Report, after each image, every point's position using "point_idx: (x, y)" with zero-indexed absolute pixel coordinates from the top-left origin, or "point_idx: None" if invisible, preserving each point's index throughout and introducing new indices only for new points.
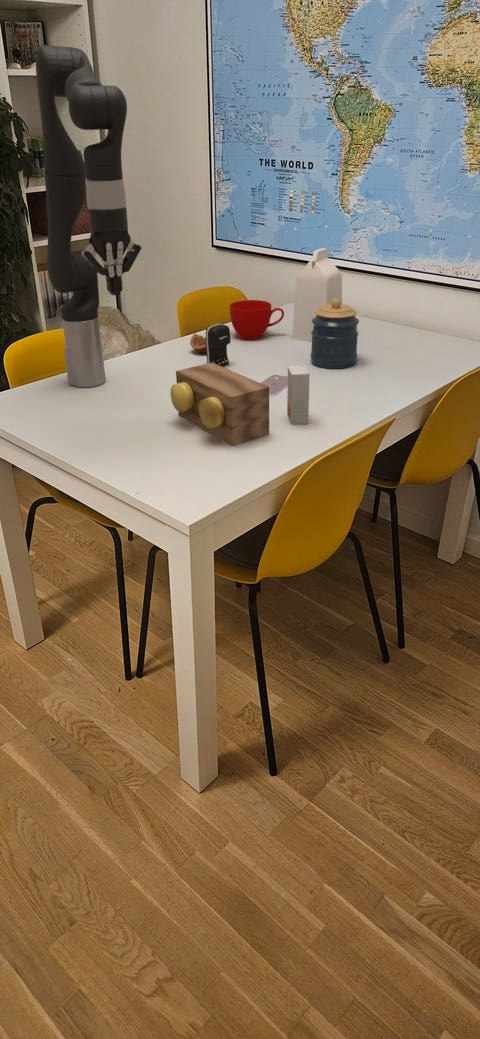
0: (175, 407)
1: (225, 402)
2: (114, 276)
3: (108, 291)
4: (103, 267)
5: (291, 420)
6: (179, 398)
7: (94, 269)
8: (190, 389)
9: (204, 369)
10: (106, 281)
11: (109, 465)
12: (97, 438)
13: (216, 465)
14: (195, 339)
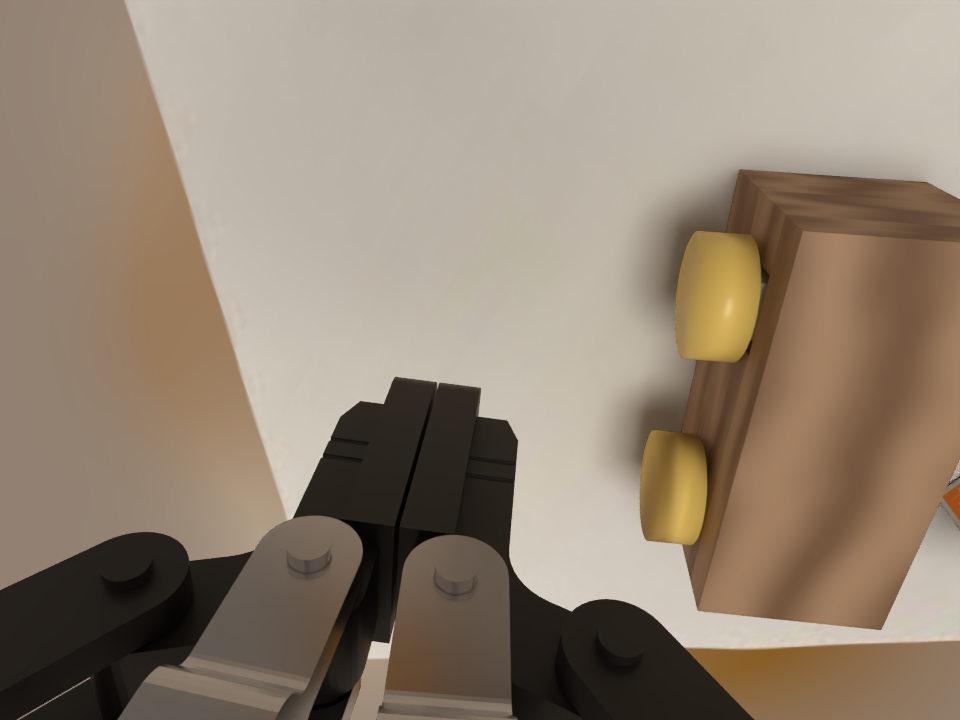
0: (686, 253)
1: (699, 559)
2: (397, 604)
3: (358, 411)
4: (213, 618)
5: (942, 504)
6: (687, 311)
7: (28, 591)
8: (732, 359)
9: (918, 315)
10: (308, 486)
11: (303, 357)
12: (359, 143)
13: (544, 538)
14: None
